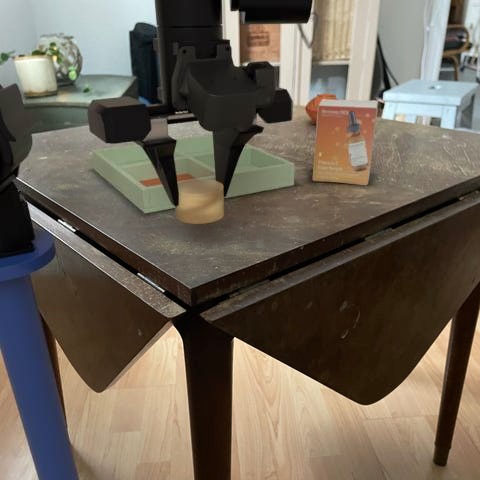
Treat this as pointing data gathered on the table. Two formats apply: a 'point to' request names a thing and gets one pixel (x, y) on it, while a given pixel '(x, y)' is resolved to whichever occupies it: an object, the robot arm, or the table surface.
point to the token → (200, 201)
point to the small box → (344, 141)
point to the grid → (188, 171)
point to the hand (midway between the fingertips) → (198, 200)
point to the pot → (313, 105)
